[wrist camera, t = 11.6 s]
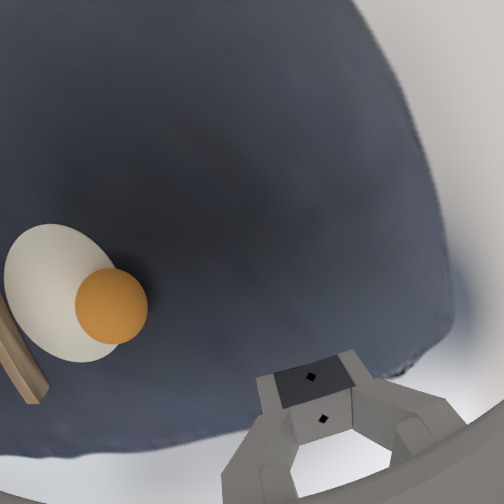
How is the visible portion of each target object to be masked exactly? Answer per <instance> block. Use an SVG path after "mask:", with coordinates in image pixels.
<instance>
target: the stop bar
mask: <svg viewBox="0 0 504 504" xmlns="http://www.w3.org/2000/svg"><path fill="white" fill-rule="evenodd" d="M0 362H1V364H2V366H3V367H4V369H5V371H6V372H7V374H8V375H9V377H10V379H11V380H12V382H13V383H14V385H15V386H16V388H17V389H18V391H19V392H20V394H21V395H22V397H23V398H24V400H25V401H26V403H27V404H40V403H41V401H42V399H43V398H44V396H45V394H46V392H47V391H48V389H49V387H50V385H49V384H48V382H47V380H46V379H45V377H44V376H43V374H42V372H41V371H40V369H39V367H38V366H37V364H36V362H35V361H34V359H33V357H32V355H31V354H30V352H29V350H28V348H27V346H26V344H25V342H24V341H23V339H22V337H21V335H20V333H19V331H18V329H17V327H16V325H15V323H14V321H13V319H12V316H11V314H10V312H9V310H8V308H7V305H6V303H5V301H4V299H3V296H2V294H1V291H0Z"/></svg>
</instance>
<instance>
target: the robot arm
mask: <svg viewBox="0 0 504 504" xmlns="http://www.w3.org/2000/svg"><path fill="white" fill-rule="evenodd" d="M273 374H274V375H273ZM273 374H268V375H264V376H259V377H257V379H256V381H257V386H258V391H259V396H260V401H261V406H262V411H263V415H259V416H258V417H257V419H256V420H255V422H254V424H253V425H252V427H251V429H250V430H249V432H248V434H247V435H246V437H245V438H244V440H243V441H242V443H241V445H240V446H239V448H238V449H237V451H236V452H235V454H234V455H233V457H232V459H231V460H230V462H229V463H228V465H227V466H226V467H225V469H224V471H223V472H222V474H221V477H222V478H221V479H222V496H223V504H504V400H502V401H501V402H500V403H498V404H497V405H496V406H494V407H493V408H491V409H490V410H489V411H487V412H486V413H484V414H483V415H482V416H480V417H479V418H478V419H476V420H474V421H473V422H471V423H470V424H468V425H467V424H466V423H465V422H464V421H463V419H462V418H461V417H460V416H459V415H458V414H457V412H456V411H455V410H454V409H453V408H452V407H451V405H450V404H449V403H448V402H447V401H446V399H444V398H441V397H437V396H434V395H431V394H427V393H424V392H421V391H417V390H414V389H411V388H407V387H405V386H401V385H398V384H395V383H392V382H389V381H386V380H383V379H380V378H377V379H373V377H372V376H371V374H370V373H369V372H368V370H367V369H366V367H365V366H364V365H363V363H362V362H361V360H360V359H359V358H358V356H357V355H356V353H355V352H354V350H352V349H350V350H347V351H344V352H341V353H339V354H336V355H334V356H331V357H328V358H325V359H322V360H319V361H316V362H312V363H309V364H306V365H302V366H298V367H295V368H291V369H287V370H283V371H279V372H275V373H273ZM274 378H275V379H274ZM349 429H353V430H355V431H356V432H358V433H360V434H362V435H363V436H365V437H367V438H368V439H370V440H372V441H374V442H375V443H377V444H379V445H381V446H383V447H384V448H386V449H388V450H390V451H392V455H391V460H390V465H389V468H386V469H384V470H381V471H379V472H376V473H374V474H371V475H369V476H367V477H364V478H361V479H359V480H356V481H354V482H351V483H348V484H345V485H342V486H339V487H336V488H333V489H330V490H326V491H323V492H320V493H316V494H313V495H309V496H306V497H302V498H299V497H298V494H297V491H296V488H295V485H294V482H293V479H292V477H291V473H290V469H291V467H292V464H293V462H294V459H295V456H296V454H297V451H298V449H299V446H300V445H303V444H306V443H309V442H312V441H315V440H318V439H322V438H324V437H328V436H331V435H334V434H337V433H341V432H344V431H347V430H349ZM0 504H46V503H41V502H37V501H33V500H29V499H26V498H22V497H19V496H15V495H12V494H8V493H5V492H2V491H0Z"/></svg>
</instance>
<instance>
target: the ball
mask: <svg viewBox="0 0 504 504" xmlns="http://www.w3.org/2000/svg"><path fill="white" fill-rule="evenodd" d="M75 312H76V316H77V319H78V321H79V324H80V325H81V327H82V328H83V330H84V331H85V332H86V333H87V334H88V335H89V336H90V337H92V338H93V339H95V340H96V341H99V342H101V343H105V344H121V343H124V342H127V341H129V340H130V339H132V338H133V337H135V336H136V335H137V334H138V333H139V331H140V330H141V329H142V327H143V326H144V323H145V321H146V318H147V313H148V304H147V298H146V295H145V292H144V290H143V288H142V286H141V285H140V283H139V282H138V281H137V280H136V279H135V278H134V277H133V276H132V275H130V274H129V273H127V272H125V271H122V270H119V269H115V268H105V269H101V270H97V271H95V272H93V273H92V274H90V275H89V276H88V277H86V278H85V279H84V281H83V282H82V283H81V285H80V287H79V288H78V291H77V294H76V298H75Z"/></svg>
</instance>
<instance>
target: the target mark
mask: <svg viewBox="0 0 504 504" xmlns="http://www.w3.org/2000/svg"><path fill="white" fill-rule="evenodd" d="M105 268H115V266H114V265H113V263H112V262H111V260H110V259H109V257H108V256H107V255H106V253H105V252H104V251H103V250H102V249H101V248H100V247H99V246H98V245H97V244H96V243H95V242H94V241H93V240H91V239H90V238H89V237H87V236H86V235H84V234H83V233H81V232H79V231H77V230H75V229H73V228H70V227H67V226H64V225H59V224H44V225H39V226H36V227H33V228H31V229H29V230H27V231H25V232H24V233H23V234H22V235H20V236H19V237H18V239H17V240H16V241H15V242H14V244H13V245H12V247H11V248H10V251H9V253H8V255H7V259H6V262H5V269H4V286H5V292H6V297H7V300H8V304H9V306H10V309H11V311H12V313H13V315H14V317H15V319H16V321H17V322H18V324H19V325H20V327H21V328H22V330H23V331H24V332H25V333H26V335H27V336H28V337H29V338H30V339H31V340H32V341H33V342H34V343H36V344H37V345H38V346H39V347H41V348H42V349H43V350H45V351H46V352H48V353H50V354H52V355H54V356H56V357H58V358H61V359H64V360H67V361H73V362H90V361H95V360H98V359H100V358H103V357H104V356H106V355H108V354H109V353H110V352H111V351H113V350H114V349H115V347H116V346H117V345H118V344H105V343H101V342H99V341H96V340H95V339H93V338H92V337H90V336H89V335H88V334H87V333H86V332H85V331H84V330H83V328H82V327H81V325H80V324H79V321H78V319H77V316H76V312H75V298H76V294H77V291H78V288H79V287H80V285H81V283H82V282H83V281H84V279H85V278H86V277H88V276H89V275H90V274H92V273H93V272H95V271H97V270H101V269H105ZM115 269H116V268H115Z"/></svg>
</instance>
